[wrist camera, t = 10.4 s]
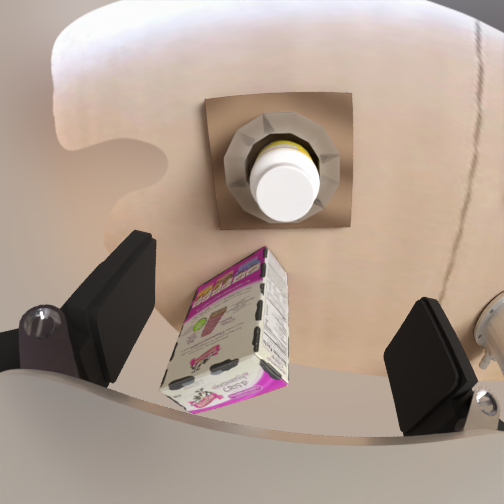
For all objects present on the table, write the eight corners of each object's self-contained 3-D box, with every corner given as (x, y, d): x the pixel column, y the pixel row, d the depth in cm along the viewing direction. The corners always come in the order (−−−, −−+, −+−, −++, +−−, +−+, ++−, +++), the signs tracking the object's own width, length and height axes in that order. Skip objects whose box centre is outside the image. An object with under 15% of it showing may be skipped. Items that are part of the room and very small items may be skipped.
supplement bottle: (313, 189, 29) (324, 231, 20) (259, 192, 30) (248, 234, 21) (310, 136, 26) (323, 154, 18) (254, 139, 27) (239, 158, 19)
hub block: (348, 222, 31) (356, 239, 28) (222, 225, 33) (214, 242, 30) (349, 93, 25) (359, 92, 21) (207, 99, 26) (196, 99, 23)
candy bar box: (221, 312, 40) (192, 416, 25) (196, 286, 38) (154, 390, 24) (291, 274, 35) (291, 388, 21) (267, 243, 34) (252, 354, 19)
